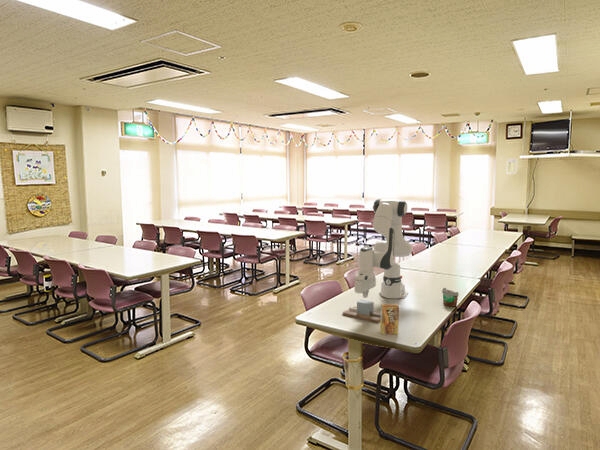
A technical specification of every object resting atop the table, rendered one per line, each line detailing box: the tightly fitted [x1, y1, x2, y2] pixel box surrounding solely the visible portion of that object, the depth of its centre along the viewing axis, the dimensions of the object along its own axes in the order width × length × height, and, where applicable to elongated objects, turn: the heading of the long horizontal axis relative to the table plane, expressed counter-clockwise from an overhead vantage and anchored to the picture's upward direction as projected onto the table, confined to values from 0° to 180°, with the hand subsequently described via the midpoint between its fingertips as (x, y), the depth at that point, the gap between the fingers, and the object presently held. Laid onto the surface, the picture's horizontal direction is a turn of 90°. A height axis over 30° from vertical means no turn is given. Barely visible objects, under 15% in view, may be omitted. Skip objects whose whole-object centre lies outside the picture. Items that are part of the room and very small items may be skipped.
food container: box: [441, 287, 459, 308], centre depth 253 cm, size 12×6×10 cm, turn 21°
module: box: [356, 299, 375, 316], centre depth 234 cm, size 6×8×7 cm
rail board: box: [342, 306, 381, 324], centre depth 234 cm, size 14×23×3 cm, turn 52°
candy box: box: [379, 303, 400, 335], centre depth 207 cm, size 9×4×15 cm, turn 93°
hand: (365, 297), depth 233 cm, fingers closed
